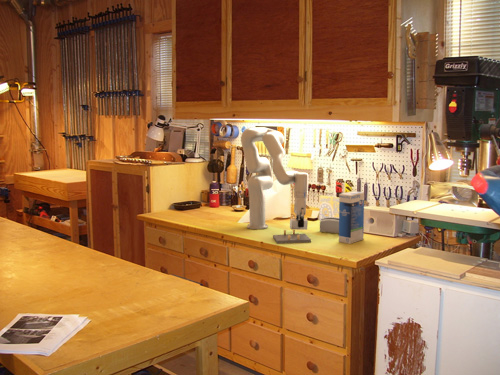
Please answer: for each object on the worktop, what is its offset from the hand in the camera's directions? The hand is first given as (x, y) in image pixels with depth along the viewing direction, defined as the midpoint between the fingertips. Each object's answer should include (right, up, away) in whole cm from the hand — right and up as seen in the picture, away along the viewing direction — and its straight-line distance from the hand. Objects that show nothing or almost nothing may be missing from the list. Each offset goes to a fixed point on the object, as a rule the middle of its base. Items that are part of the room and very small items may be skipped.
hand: (299, 225), depth 289 cm
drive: (-1, -2, 0) cm, 2 cm away
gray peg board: (-6, -7, -13) cm, 16 cm away
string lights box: (+26, -7, -16) cm, 31 cm away
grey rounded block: (+20, -4, +5) cm, 21 cm away
